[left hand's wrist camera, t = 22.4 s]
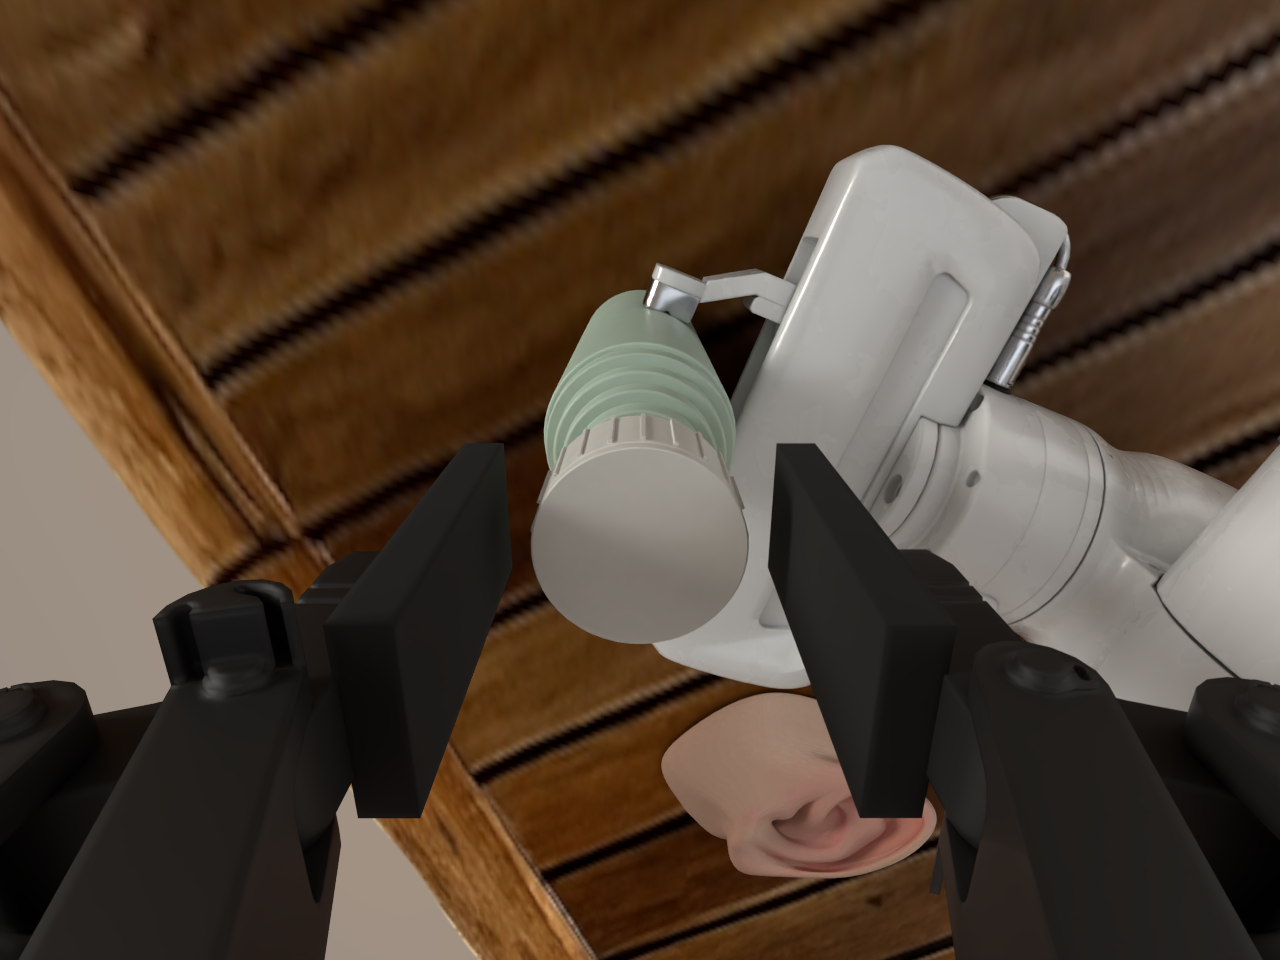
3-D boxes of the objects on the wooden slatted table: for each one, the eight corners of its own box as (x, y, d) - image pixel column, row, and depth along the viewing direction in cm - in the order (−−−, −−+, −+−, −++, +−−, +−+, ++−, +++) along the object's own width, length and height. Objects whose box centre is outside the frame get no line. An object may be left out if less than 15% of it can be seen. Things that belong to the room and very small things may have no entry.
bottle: (614, 268, 30) (573, 347, 12) (716, 323, 31) (831, 479, 12) (564, 372, 32) (458, 588, 13) (663, 421, 33) (694, 690, 14)
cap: (765, 550, 14) (784, 602, 13) (593, 617, 15) (586, 676, 13) (692, 380, 13) (701, 407, 11) (508, 459, 14) (487, 498, 12)
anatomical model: (630, 847, 36) (765, 695, 33) (631, 789, 40) (752, 647, 37) (829, 947, 39) (972, 816, 36) (812, 883, 43) (940, 759, 39)
